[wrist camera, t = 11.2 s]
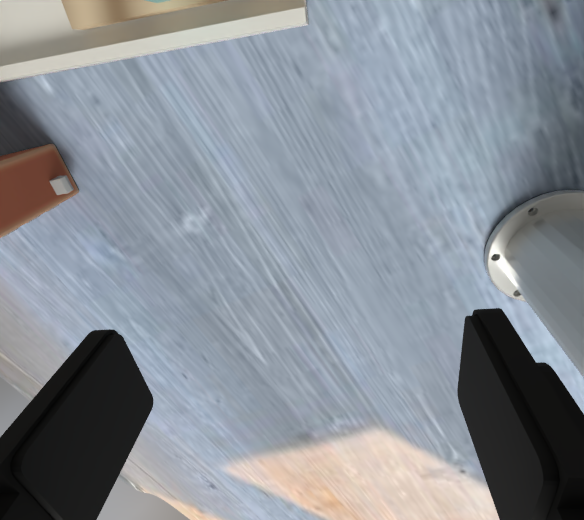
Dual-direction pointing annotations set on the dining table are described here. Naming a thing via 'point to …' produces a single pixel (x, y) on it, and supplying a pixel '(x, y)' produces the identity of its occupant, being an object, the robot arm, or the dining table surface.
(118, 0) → the oak strip
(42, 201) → the control panel
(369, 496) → the dining table surface
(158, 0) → the teal block
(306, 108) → the dining table surface
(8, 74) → the lane board
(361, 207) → the dining table surface
